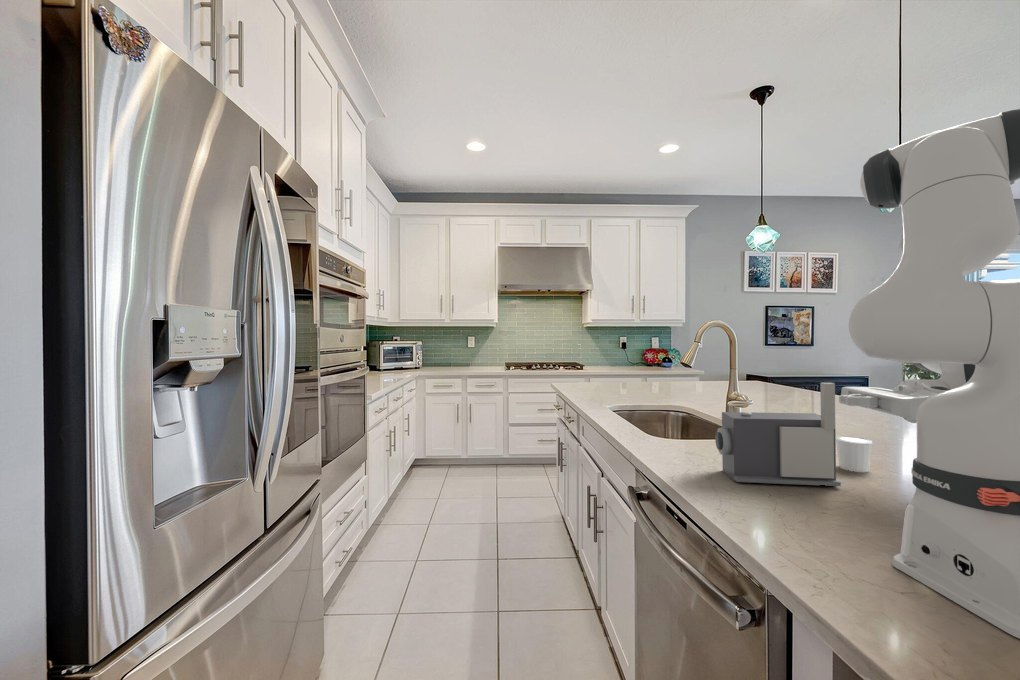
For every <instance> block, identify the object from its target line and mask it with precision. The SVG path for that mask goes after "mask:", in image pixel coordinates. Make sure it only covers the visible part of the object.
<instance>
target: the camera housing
mask: <svg viewBox="0 0 1020 680" xmlns="http://www.w3.org/2000/svg"><path fill="white" fill-rule="evenodd" d="M780 427H821V414H819V413H815V412H813V413H811V412H810V413H809V412H808V413H807V412H803V413H801V412H757V411H756V412H751V411H750V412H749V411H722V412H721V427H718V428H717V430H716V433H715V435H714V438H715V441H714V442H715V446H716V449H717V450H718V453H719V454H720V455H721V456H722V458H721V459H722V462H721V463H722V471H723V473H725V475H727V476H728V477H729V478H730V479H731V481H733V482H734V483H755V484H776V485H777V484H780V485H796V486H797V485H799V486H800V485H801V486H805V485H806V486H820V485H825V486H826V487H841V486H842V485H841V484H842V483H841V481H839V480H838V479H837V463H836V462H837V459H836V457H837V455H836V452H837V451H836V450H837V449H836V448H837V442H836V428H835V429H834V479H832V478H807V477H782V476H780ZM825 486H824V487H825Z"/></svg>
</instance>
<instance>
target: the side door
mask: <svg viewBox="0 0 1020 680" xmlns="http://www.w3.org/2000/svg"><path fill="white" fill-rule="evenodd" d="M819 386H820V415H821V427H780V476H782V477H807V478H832V479H834V429H835V430H836V383H835V382H820V385H819Z"/></svg>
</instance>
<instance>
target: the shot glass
mask: <svg viewBox="0 0 1020 680" xmlns="http://www.w3.org/2000/svg"><path fill="white" fill-rule="evenodd" d="M835 438H836V448H837V449H836V450H837V458H838V466H839V468H840V469H842V470H845V471H848V470H849V471H848V472H853V471H854V473H869V472H870V470H871V469H870V468H871V461H872V450H873V440H871V439H867V438H863V437H855V436H835Z"/></svg>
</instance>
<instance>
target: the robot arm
mask: <svg viewBox="0 0 1020 680" xmlns="http://www.w3.org/2000/svg"><path fill="white" fill-rule="evenodd" d="M1019 179H1020V108H1015V109H1010V110H1005V111H1001V112H999V114H998V115H994V116H990V117H984V118H981V119H977V120H974V121H969V122H965V123H961V124H958V125H955V126H952V127H948V128H945V129H942V130H940V129H939V130H935V131H933V132H931V133H927V134H925V135H922V136H919V137H917V138H915V139H912V140H910V141H907V142H904V143H902V144H900V145H897V146H894V147H893V148H890V147H888V148H886V149H883V150H881V151H880V152H877V153H876V154H874V155H872V156H871V157H869V158H868V159H867V161H866V162H865V163H864V164H863V167H862V171H861V174H860V180H859V189H860V191H861V193H862V196H863V198H864V199H865V200H866V201H867V202H868V203H869V205H870V206H871V207H872V208H875V209H878V210H890V209H897V208H900V207H901V218H902V227H903V251H902V256H901V258H900V261H899V263H898V265H897V267H896V269H895V270H894V271H893V273H892V274H891V275H890V276H889V277H888V279H886V280H885V281H884V282H883V283H882V284H881V285H879V286H877V287H876V288H875V289H873V290H872V291H869V292H868V293H866V294H864V296H863V297H861V298H860V300H858V302H857V303H856V304H855V305H854V307H853V309H852V311H851V312H850V315H849V320H848V332H849V335H850V337H851V338H850V339H851V340H852V342H853V343H854V345H855V346H856V347H857V349H858V350H859V351H860V352H861V353H863V354H864V355H866V357H870V358H874V359H878V360H879V359H880V360H887V361H892V362H893V361H894V362H898V363H899V362H900V363H905V364H906V363H907V364H912V365H914V366H915V367H916V368H918V369H920V370H922V371H927V372H931V373H935V374H939V375H940V377H939V378H937V379H936V378H935V379H932V378H931V379H926V378H925V379H923V378H922V379H917V378H916V379H914V378H913V379H912V378H911V379H910V378H909V379H904V380H902V381H901V382H900V383H899V384H898V385H897V386H894V388H893V389H889V388H883V387H875V386H873V387H872V386H871V387H870V386H842V387H841V392H840V393H841V394H840V395H839V396H838V402H839V404H840V405H841V404H842V405H846V406H850V407H851V406H852V407H861V408H865V409H868V410H872V411H877V412H881V413H884V414H887V415H892V416H896V417H899V418H902V419H904V420H905V421H906V422H908V423H911V424H916V457H915V458H914V459H913V460H912V467H911V472H910V473H911V475H912V484H913V486H914V487H915V491H914V494H913V496H912V498H911V500H910V501H909V503H907V504H906V507H905V511H904V519H903V526H902V535H901V536H902V537H901V544H900V545H901V546H900V551H899V553H897V554H895V555H893V557H892V562H891V563H892V566H893V567H894V568H895V569H897V570H899V571H901V572H902V573H904V574H906V575H908V576H909V577H912V579H914V580H916V581H918V582H920V583H922V584H923V585H925V586H926V587H929V588H930V589H931V590H933V591H935V592H937V593H938V594H941V595H942V596H944V597H945V598H948V599H949V600H951V601H952V602H954V603H956V604H958V605H959V606H961V607H962V608H964V609H966V610H968V611H970V613H973V614H975V615H976V616H978V617H980V618H981V619H983V620H984V621H987V622H988V623H990V624H991V625H993V626H995V627H997V628H998V629H1000V630H1002V631H1004V632H1005V633H1007V634H1009V635H1011V636H1013V637H1014V638H1017V639H1019V640H1020V278H1018V279H1005V280H1004V279H1003V280H1002V279H1001V280H983V281H974V280H973V281H972V280H967V279H966V278H965V276H968V275H971V274H973V273H976V272H978V271H980V270H983V268H985V267H987V266H988V265H990V263H992V262H993V261H994V260H995V259H996V258H997V257H999V256H1000V255H1002V254H1003V253H1005V252H1006V251H1007V250H1008V249H1009V248H1011V246H1012V245H1013V244H1014V243H1015V241H1017V238H1018V236H1019V232H1020V223H1019V218H1018V214H1017V210H1016V204H1015V199H1014V194H1013V190H1012V185H1014V184H1015V182H1016V181H1017V180H1019Z"/></svg>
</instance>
